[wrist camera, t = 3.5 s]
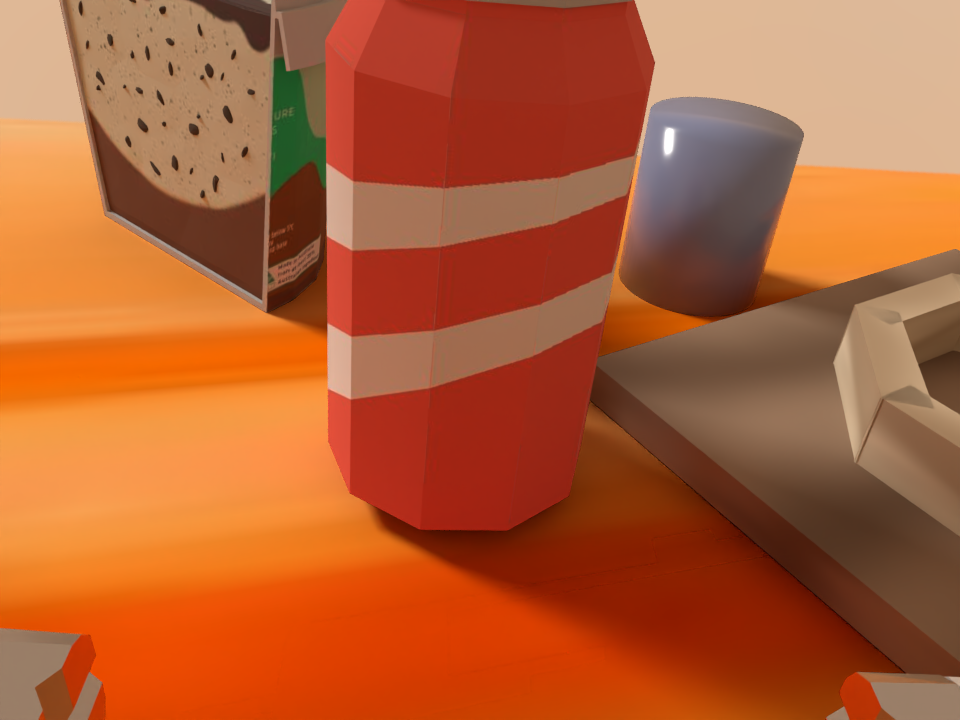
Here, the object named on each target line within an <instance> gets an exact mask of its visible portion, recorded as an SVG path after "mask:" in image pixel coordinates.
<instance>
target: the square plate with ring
mask: <svg viewBox="0 0 960 720" xmlns="http://www.w3.org/2000/svg"><path fill="white" fill-rule="evenodd" d="M590 400H591V401H592V402H593V403H594V404H595V405H597V406H598V407H599V408H600V409H601V410H602V411H604V412H605V413H606V414H607V415H608V416H609V417H610V418H612V419H613V420H614V421H615V422H616V423H617V424H619V425H620V426H621V427H622V428H623V429H624V430H625V431H627V432H628V433H629V434H630V435H631V436H632V437H634V438H635V439H636V440H637V441H638V442H639V443H641V444H642V445H643V446H644V447H645V448H646V449H647V450H649V451H650V452H651V453H652V454H653V455H654V456H656V457H657V458H658V459H659V460H660V461H661V462H663V463H664V464H665V465H666V466H667V467H668V468H669V469H671V470H672V471H673V472H674V473H675V474H676V475H678V476H679V477H680V478H681V479H682V480H683V481H684V482H686V483H687V484H688V485H689V486H690V487H691V488H693V489H694V490H695V491H696V492H697V493H698V494H700V495H701V496H702V497H703V498H704V499H705V500H706V501H708V502H709V503H710V504H711V505H712V506H713V507H715V508H716V509H717V510H718V511H719V512H720V513H721V514H723V515H724V516H725V517H726V518H727V519H728V520H730V521H731V522H732V523H733V524H734V525H735V526H737V527H738V528H739V529H740V530H741V531H742V532H743V533H745V534H746V535H747V536H748V537H749V538H750V539H752V540H753V541H754V542H755V543H756V544H757V545H758V546H760V547H761V548H762V549H763V550H764V551H765V552H767V553H768V554H769V555H770V556H771V557H772V558H774V559H775V560H776V561H777V562H778V563H779V564H780V565H782V566H783V567H784V568H785V569H786V570H787V571H789V572H790V573H791V574H792V575H793V576H794V577H796V578H797V579H798V580H799V581H800V582H801V583H802V584H804V585H805V586H806V587H807V588H808V589H809V590H811V591H812V592H813V593H814V594H815V595H816V596H817V597H819V598H820V599H821V600H822V601H823V602H824V603H826V604H827V605H828V606H829V607H830V608H831V609H833V610H834V611H835V612H836V613H837V614H838V615H839V616H841V617H842V618H843V619H844V620H845V621H846V622H848V623H849V624H850V625H851V626H852V627H853V628H854V629H856V630H857V631H858V632H859V633H860V634H861V635H863V636H864V637H865V638H866V639H867V640H868V641H870V642H871V643H872V644H873V645H874V646H875V647H876V648H878V649H879V650H880V651H881V652H882V653H883V654H885V655H886V656H887V657H888V658H889V659H890V660H891V661H893V662H894V663H895V664H896V665H897V666H898V667H900V668H901V669H902V670H903V671H904V672H905V673H907V674H929V675H941V676H943V677H960V251H959V250H957V249H954V250H950V251H947V252H944V253H940V254H937V255H934V256H930V257H927V258H924V259H921V260H917V261H914V262H911V263H907V264H904V265H901V266H897V267H894V268H891V269H888V270H884V271H881V272H878V273H874V274H871V275H868V276H864V277H861V278H858V279H855V280H851V281H848V282H845V283H841V284H838V285H835V286H831V287H828V288H825V289H822V290H818V291H815V292H812V293H808V294H805V295H802V296H798V297H795V298H792V299H788V300H785V301H782V302H779V303H775V304H772V305H769V306H765V307H762V308H759V309H755V310H752V311H749V312H746V313H742V314H739V315H736V316H732V317H729V318H726V319H722V320H719V321H716V322H713V323H709V324H706V325H703V326H699V327H696V328H693V329H689V330H686V331H683V332H680V333H676V334H673V335H670V336H666V337H663V338H660V339H656V340H653V341H650V342H647V343H643V344H640V345H637V346H633V347H630V348H627V349H623V350H620V351H617V352H614V353H610V354H607V355H604V356H600V357H598V359H597V364H596V369H595V375H594V380H593V385H592V390H591V395H590Z"/></svg>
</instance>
